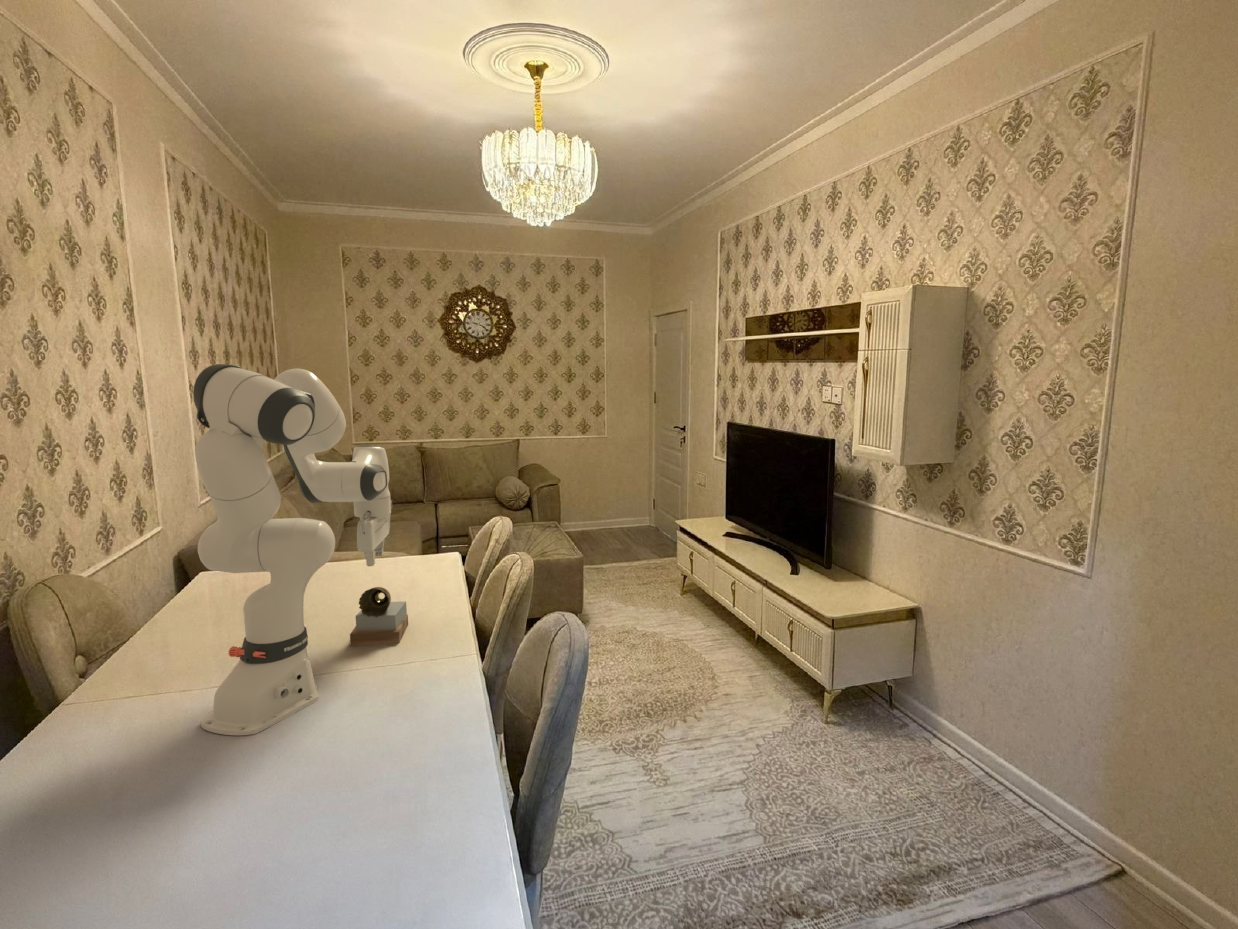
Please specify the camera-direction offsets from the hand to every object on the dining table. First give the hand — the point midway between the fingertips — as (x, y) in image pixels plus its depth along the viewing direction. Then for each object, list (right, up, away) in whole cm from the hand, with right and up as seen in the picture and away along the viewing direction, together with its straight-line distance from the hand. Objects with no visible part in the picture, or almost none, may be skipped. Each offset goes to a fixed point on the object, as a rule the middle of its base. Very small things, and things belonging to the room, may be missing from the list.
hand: (375, 560), depth 164 cm
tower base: (0, -21, +4) cm, 22 cm away
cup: (0, -10, +6) cm, 12 cm away
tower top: (0, -17, +4) cm, 18 cm away
